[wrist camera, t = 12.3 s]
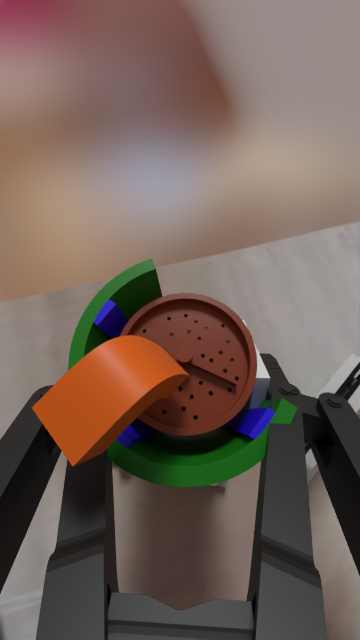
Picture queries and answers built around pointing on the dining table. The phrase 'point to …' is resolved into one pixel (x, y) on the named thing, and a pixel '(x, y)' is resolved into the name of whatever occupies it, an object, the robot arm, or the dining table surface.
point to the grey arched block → (345, 386)
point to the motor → (161, 386)
